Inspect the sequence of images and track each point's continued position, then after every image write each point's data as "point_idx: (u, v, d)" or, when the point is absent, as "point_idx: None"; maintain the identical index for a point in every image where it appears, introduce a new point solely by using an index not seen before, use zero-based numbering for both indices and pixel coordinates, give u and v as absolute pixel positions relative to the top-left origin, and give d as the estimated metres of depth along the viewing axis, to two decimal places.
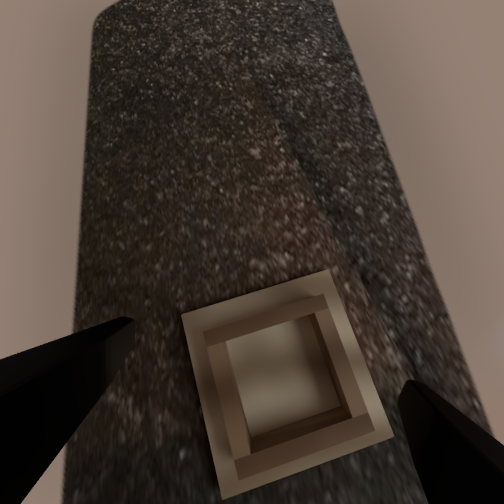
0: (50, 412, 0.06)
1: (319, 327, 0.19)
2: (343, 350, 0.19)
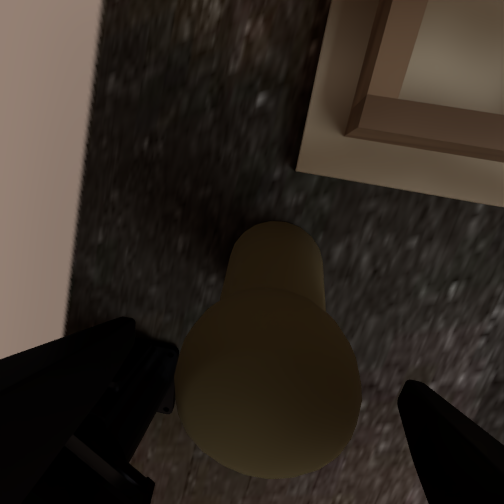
0: (50, 412, 0.05)
1: None
2: None
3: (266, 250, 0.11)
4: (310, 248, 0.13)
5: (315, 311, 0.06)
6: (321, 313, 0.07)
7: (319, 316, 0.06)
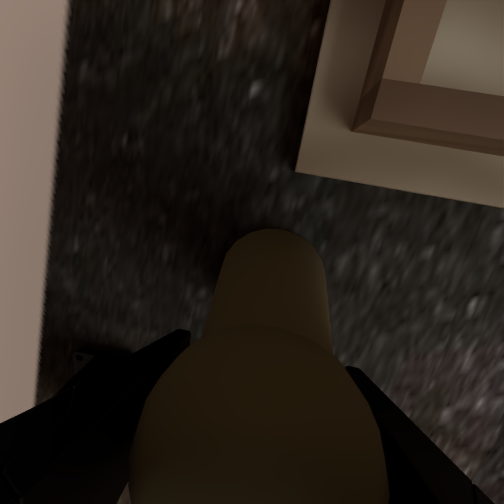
0: (131, 432, 0.05)
1: None
2: None
3: (260, 266, 0.09)
4: (312, 261, 0.11)
5: (323, 366, 0.05)
6: (331, 367, 0.05)
7: (329, 374, 0.05)
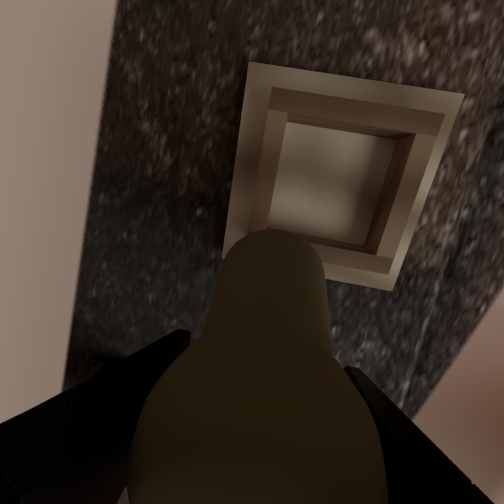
0: (131, 432, 0.05)
1: (407, 154, 0.15)
2: (415, 192, 0.15)
3: (259, 267, 0.09)
4: (311, 262, 0.11)
5: (322, 368, 0.05)
6: (330, 368, 0.05)
7: (328, 376, 0.05)
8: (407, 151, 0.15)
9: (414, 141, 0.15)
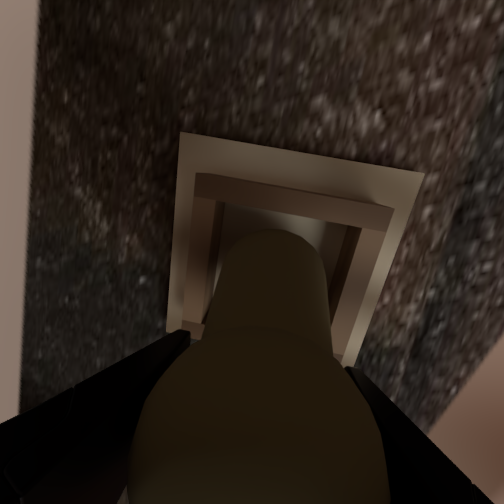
0: (132, 432, 0.05)
1: (354, 248, 0.13)
2: (364, 289, 0.13)
3: (260, 267, 0.09)
4: (312, 261, 0.11)
5: (323, 368, 0.05)
6: (331, 369, 0.05)
7: (329, 376, 0.04)
8: (354, 243, 0.13)
9: (360, 236, 0.13)
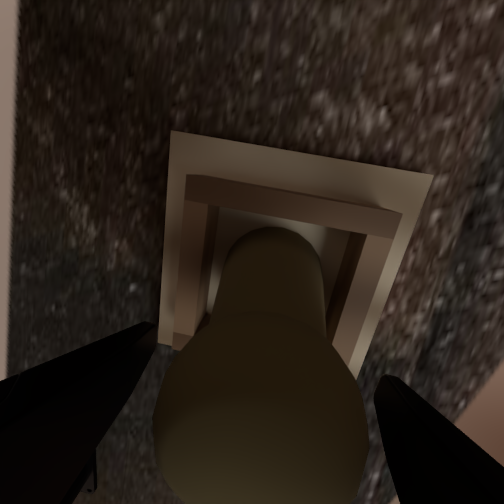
0: (82, 420, 0.05)
1: (358, 256, 0.12)
2: (369, 300, 0.12)
3: (261, 262, 0.10)
4: (309, 257, 0.12)
5: (315, 343, 0.06)
6: (322, 345, 0.06)
7: (320, 350, 0.05)
8: (358, 251, 0.12)
9: (365, 243, 0.12)
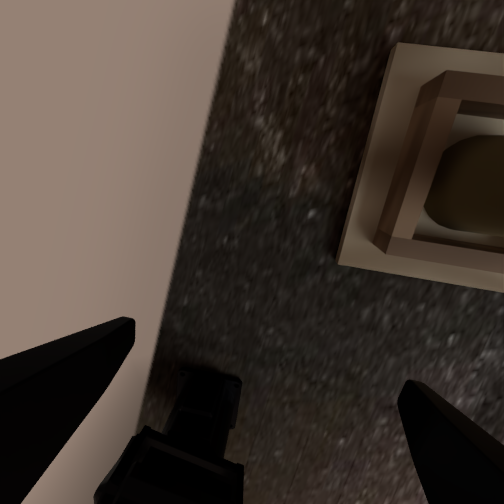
0: (50, 412, 0.05)
1: None
2: None
3: None
4: None
5: None
6: None
7: None
8: None
9: None
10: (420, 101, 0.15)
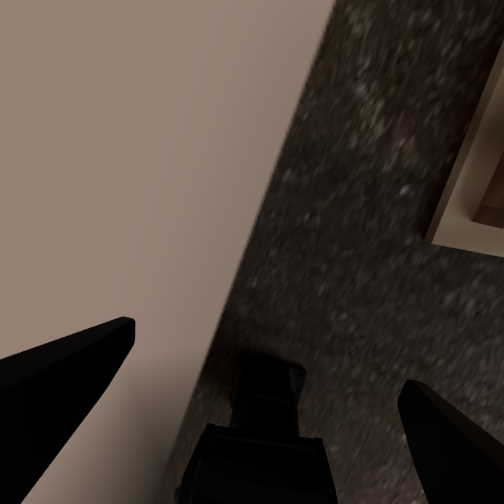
0: (50, 412, 0.05)
1: None
2: None
3: None
4: None
5: None
6: None
7: None
8: None
9: None
10: None
